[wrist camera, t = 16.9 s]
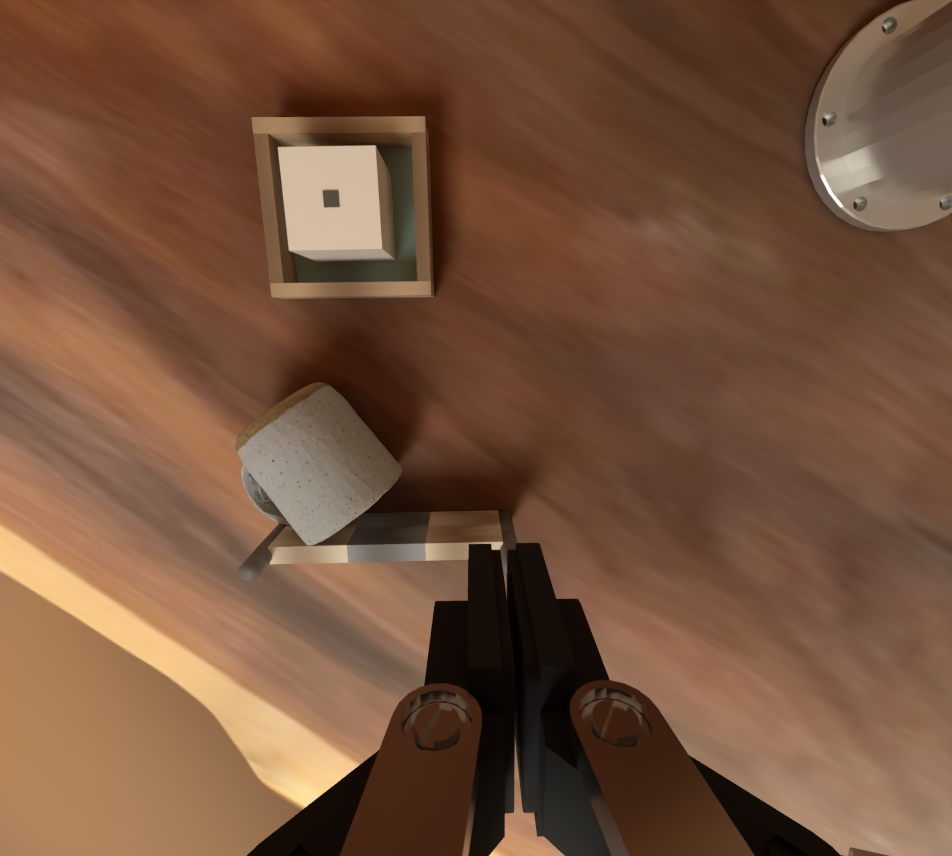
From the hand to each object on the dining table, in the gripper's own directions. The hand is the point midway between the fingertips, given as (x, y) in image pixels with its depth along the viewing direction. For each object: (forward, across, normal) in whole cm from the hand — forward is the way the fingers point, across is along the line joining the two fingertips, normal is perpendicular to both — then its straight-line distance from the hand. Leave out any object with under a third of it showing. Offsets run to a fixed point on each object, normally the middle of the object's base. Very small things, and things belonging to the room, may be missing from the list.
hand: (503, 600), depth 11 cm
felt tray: (+23, +8, -12) cm, 27 cm away
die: (+22, +8, -12) cm, 27 cm away
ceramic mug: (+23, +12, +3) cm, 26 cm away
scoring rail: (+22, +6, +8) cm, 25 cm away
